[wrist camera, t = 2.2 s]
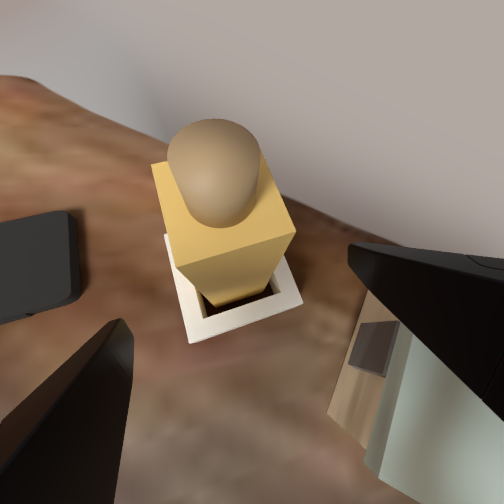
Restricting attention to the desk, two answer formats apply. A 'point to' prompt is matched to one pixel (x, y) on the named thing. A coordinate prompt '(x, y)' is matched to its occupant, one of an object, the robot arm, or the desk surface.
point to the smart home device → (38, 265)
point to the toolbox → (416, 416)
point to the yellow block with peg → (222, 210)
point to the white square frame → (217, 324)
